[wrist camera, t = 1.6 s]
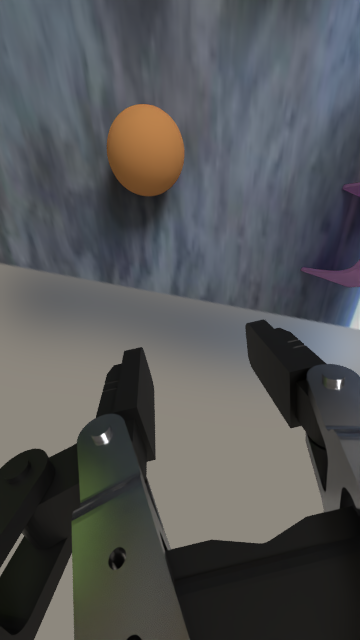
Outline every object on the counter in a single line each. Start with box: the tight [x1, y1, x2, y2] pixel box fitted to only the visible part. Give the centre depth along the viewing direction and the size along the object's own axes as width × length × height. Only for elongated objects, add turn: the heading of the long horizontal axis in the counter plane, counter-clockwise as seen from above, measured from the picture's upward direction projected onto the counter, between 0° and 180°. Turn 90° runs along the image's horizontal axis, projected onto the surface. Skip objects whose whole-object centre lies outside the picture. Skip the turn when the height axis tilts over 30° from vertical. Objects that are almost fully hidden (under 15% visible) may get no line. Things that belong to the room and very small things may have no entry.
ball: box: [107, 104, 184, 196], centre depth 18 cm, size 6×6×6 cm
